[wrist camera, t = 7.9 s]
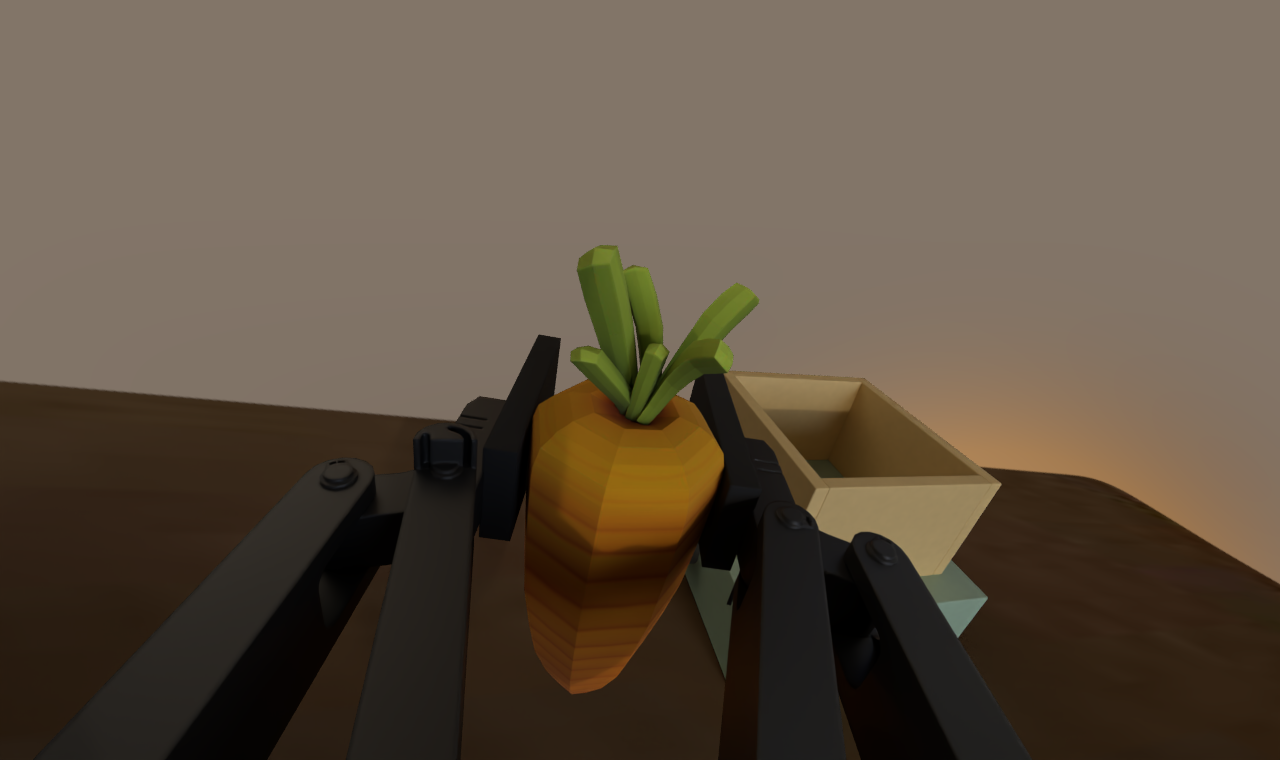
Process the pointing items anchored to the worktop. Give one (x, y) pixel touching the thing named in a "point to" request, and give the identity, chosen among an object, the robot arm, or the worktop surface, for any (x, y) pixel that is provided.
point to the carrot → (619, 476)
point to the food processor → (857, 483)
